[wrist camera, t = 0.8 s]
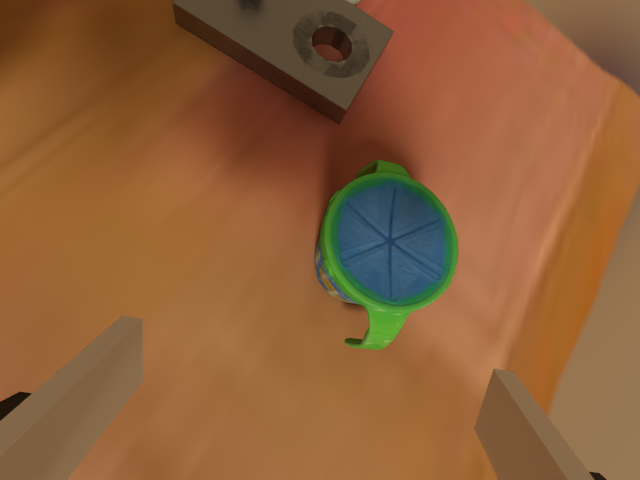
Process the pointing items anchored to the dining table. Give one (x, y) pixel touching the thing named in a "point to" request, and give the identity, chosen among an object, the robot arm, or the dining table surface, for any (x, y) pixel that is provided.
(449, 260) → the snack cup
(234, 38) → the plate
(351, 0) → the pale green ball
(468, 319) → the dining table surface
